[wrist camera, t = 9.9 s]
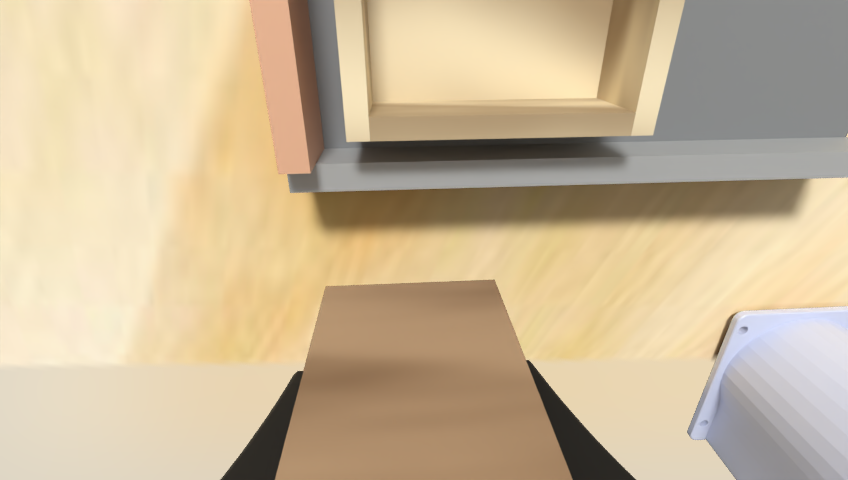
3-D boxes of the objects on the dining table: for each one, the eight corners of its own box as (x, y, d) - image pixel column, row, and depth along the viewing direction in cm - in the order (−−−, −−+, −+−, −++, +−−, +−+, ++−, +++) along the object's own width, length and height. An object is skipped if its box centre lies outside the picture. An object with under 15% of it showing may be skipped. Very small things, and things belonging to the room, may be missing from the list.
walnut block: (484, 400, 13) (543, 647, 8) (341, 407, 13) (306, 667, 8) (494, 279, 11) (581, 502, 6) (325, 286, 11) (263, 524, 6)
